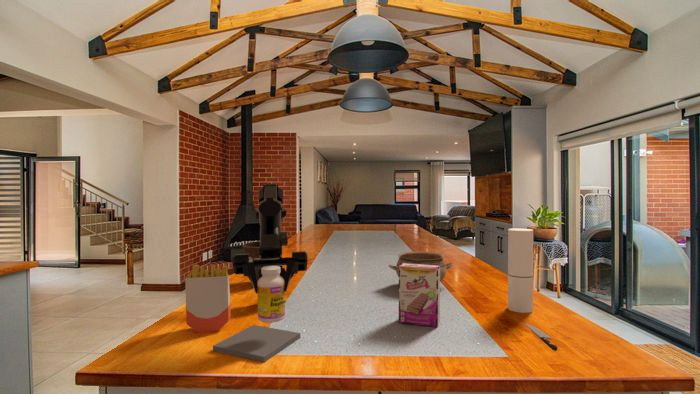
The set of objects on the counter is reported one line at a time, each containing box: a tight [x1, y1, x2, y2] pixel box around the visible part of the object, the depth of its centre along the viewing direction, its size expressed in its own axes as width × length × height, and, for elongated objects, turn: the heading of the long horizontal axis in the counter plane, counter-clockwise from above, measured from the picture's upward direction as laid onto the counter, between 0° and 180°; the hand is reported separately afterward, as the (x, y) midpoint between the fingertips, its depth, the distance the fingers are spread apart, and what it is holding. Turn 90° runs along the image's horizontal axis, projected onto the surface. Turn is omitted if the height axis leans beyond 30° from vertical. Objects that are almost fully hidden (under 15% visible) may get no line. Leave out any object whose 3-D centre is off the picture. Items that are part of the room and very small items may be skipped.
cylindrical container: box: [507, 227, 534, 314], centre depth 119 cm, size 7×7×25 cm
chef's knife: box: [523, 322, 558, 351], centre depth 99 cm, size 19×1×3 cm
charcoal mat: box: [212, 324, 301, 363], centre depth 95 cm, size 15×15×1 cm
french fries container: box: [185, 264, 232, 333], centre depth 105 cm, size 5×11×18 cm, turn 99°
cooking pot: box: [388, 250, 453, 283], centre depth 147 cm, size 25×19×12 cm
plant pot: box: [242, 241, 261, 283], centre depth 154 cm, size 15×15×16 cm
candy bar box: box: [398, 263, 441, 328], centre depth 108 cm, size 11×5×16 cm, turn 71°
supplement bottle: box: [257, 266, 286, 324], centre depth 95 cm, size 7×7×13 cm
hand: (271, 291), depth 94 cm, fingers closed on supplement bottle, 7 cm apart
